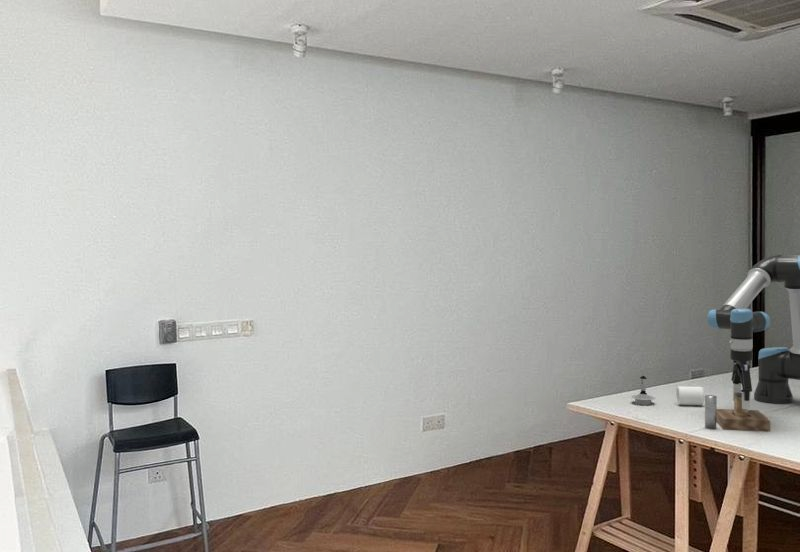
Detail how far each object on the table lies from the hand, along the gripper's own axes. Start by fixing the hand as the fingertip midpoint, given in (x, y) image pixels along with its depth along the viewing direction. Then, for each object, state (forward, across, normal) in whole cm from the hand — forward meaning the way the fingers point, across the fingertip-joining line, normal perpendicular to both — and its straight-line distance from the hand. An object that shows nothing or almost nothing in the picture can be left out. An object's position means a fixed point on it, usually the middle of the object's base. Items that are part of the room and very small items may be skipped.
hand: (741, 404), depth 266 cm
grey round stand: (+8, -32, -32) cm, 46 cm away
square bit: (+8, 0, 0) cm, 8 cm away
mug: (+8, -34, -13) cm, 37 cm away
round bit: (+8, +6, -12) cm, 16 cm away
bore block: (+8, 0, 0) cm, 8 cm away
